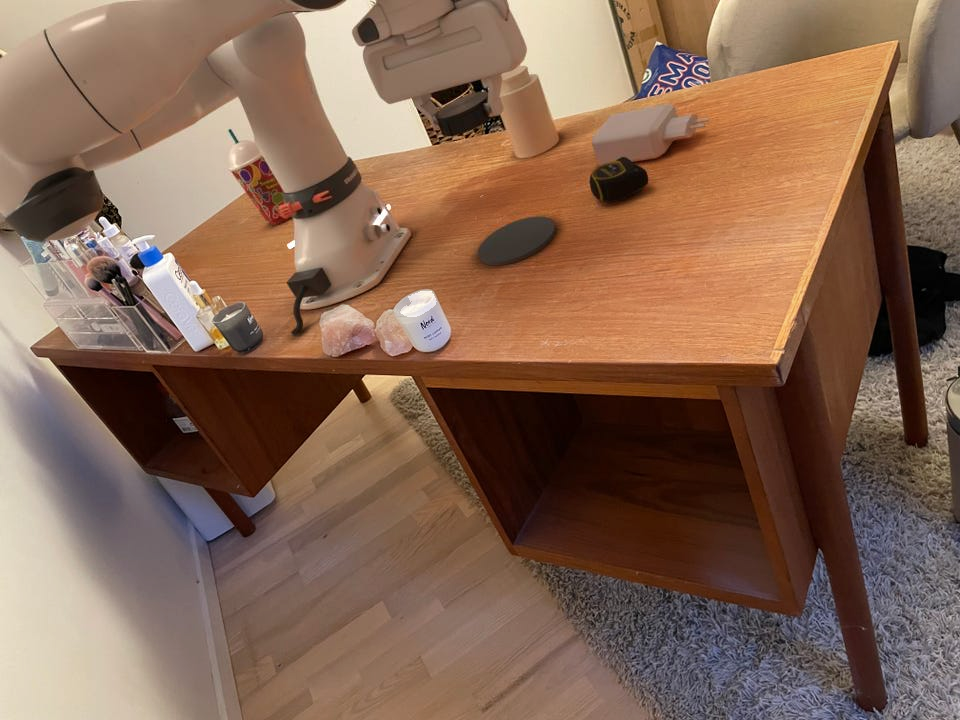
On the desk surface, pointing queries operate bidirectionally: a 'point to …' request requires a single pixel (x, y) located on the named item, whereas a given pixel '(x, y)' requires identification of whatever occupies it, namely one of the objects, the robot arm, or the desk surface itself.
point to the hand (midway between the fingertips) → (468, 121)
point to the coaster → (517, 241)
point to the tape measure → (617, 180)
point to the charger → (642, 133)
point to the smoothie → (256, 179)
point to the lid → (462, 114)
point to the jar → (526, 113)
